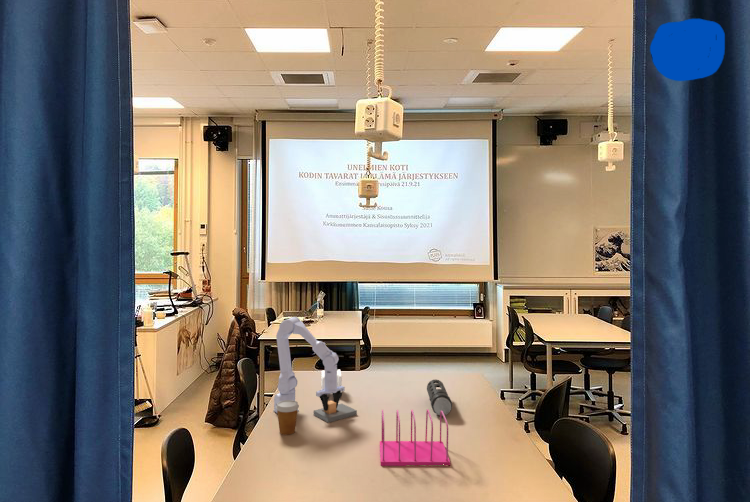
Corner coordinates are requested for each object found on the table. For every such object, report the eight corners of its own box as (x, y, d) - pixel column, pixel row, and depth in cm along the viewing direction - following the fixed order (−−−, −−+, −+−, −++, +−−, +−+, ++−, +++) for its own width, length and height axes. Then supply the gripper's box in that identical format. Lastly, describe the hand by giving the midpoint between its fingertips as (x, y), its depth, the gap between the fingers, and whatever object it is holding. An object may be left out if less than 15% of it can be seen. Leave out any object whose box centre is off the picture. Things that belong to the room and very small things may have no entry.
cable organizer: (341, 398, 240) (342, 376, 240) (321, 399, 238) (321, 376, 238) (340, 389, 255) (340, 368, 254) (320, 390, 253) (320, 368, 253)
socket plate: (327, 422, 207) (327, 418, 207) (313, 414, 216) (313, 410, 216) (356, 414, 217) (356, 410, 217) (341, 407, 226) (341, 403, 226)
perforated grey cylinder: (444, 398, 241) (444, 378, 241) (452, 419, 213) (453, 396, 213) (426, 398, 241) (426, 378, 241) (431, 418, 213) (432, 396, 213)
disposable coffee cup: (293, 437, 191) (294, 408, 191) (272, 435, 193) (272, 406, 193) (302, 428, 200) (302, 400, 200) (281, 426, 202) (281, 399, 202)
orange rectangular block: (328, 417, 214) (328, 404, 214) (324, 415, 217) (324, 402, 217) (336, 415, 216) (336, 402, 216) (331, 413, 219) (331, 400, 219)
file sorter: (379, 445, 185) (379, 406, 184) (442, 445, 185) (443, 406, 185) (380, 466, 167) (381, 422, 167) (450, 466, 168) (450, 423, 167)
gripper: (322, 384, 208) (321, 414, 209) (348, 378, 218) (348, 407, 218) (313, 380, 214) (313, 410, 214) (339, 375, 223) (339, 403, 223)
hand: (330, 408), depth 216 cm, fingers open, 5 cm apart
